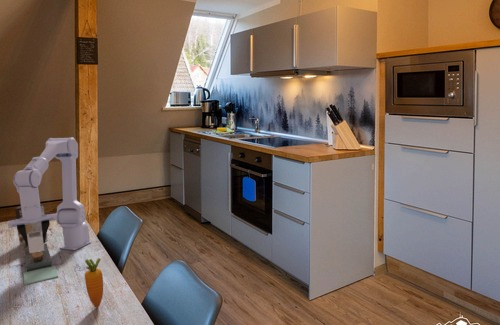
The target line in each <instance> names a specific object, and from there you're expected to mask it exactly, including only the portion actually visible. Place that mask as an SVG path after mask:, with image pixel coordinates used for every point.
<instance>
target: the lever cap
mask: <svg viewBox="0 0 500 325" xmlns="http://www.w3.org/2000/svg"><path fill="white" fill-rule="evenodd" d="M27 238H28V245H29V246H28V247H29V253H34V252H39V251H44V244H45V243H43V236H42V232H40V230H37V231H31V232H28V234H27Z"/></svg>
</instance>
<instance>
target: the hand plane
mask: <svg viewBox="0 0 500 325" xmlns="http://www.w3.org/2000/svg"><path fill="white" fill-rule="evenodd" d="M48 247H49V246H48V243H44V251H39V252H34V253H29V246H25V247H23V252H24V260H25V269H26V272H29V271H34V270H38V269H43V268H47V267H52V266H53V265H52V264H53V263H52V258H51V254H50V250H49V248H48Z"/></svg>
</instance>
